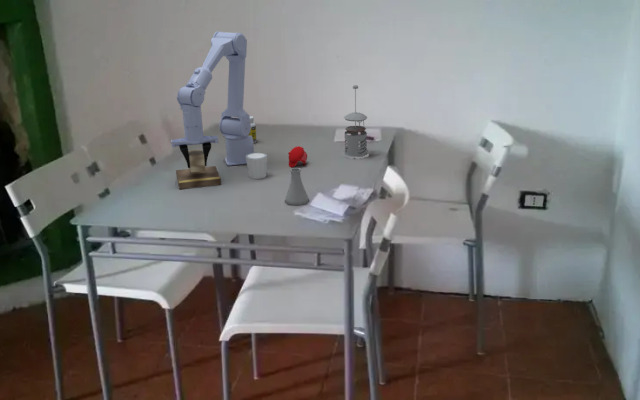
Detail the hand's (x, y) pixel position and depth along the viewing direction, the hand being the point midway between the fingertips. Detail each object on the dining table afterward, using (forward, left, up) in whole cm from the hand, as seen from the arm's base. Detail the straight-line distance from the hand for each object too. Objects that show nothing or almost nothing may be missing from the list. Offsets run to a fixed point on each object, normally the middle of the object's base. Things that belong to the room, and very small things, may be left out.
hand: (197, 166), depth 214 cm
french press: (-57, -9, -5) cm, 58 cm away
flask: (-26, +28, -5) cm, 39 cm away
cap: (-34, -5, -5) cm, 35 cm away
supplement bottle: (-23, -37, -5) cm, 44 cm away
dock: (0, 0, -5) cm, 5 cm away
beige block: (0, 0, -2) cm, 2 cm away
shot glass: (-19, +2, -5) cm, 20 cm away
